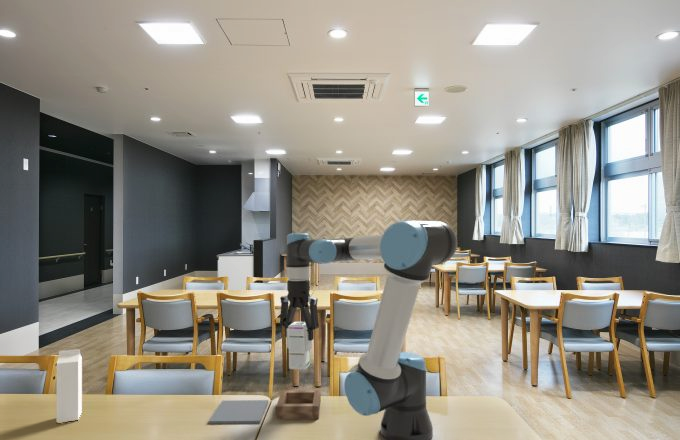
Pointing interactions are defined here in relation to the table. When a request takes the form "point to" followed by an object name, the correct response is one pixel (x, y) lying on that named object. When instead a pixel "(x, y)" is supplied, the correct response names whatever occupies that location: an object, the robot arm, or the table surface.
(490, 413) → the table surface
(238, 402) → the charcoal mat
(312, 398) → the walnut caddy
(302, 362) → the syrup box
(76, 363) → the milk
